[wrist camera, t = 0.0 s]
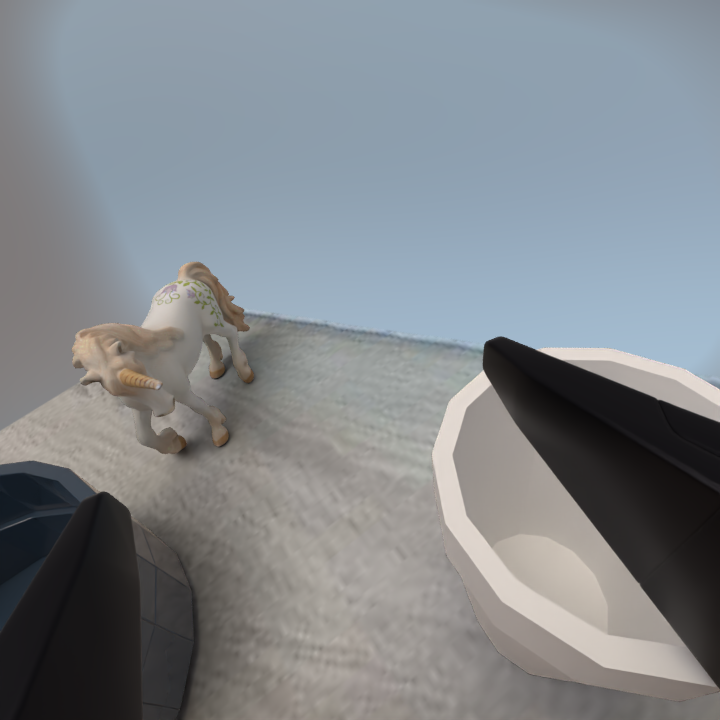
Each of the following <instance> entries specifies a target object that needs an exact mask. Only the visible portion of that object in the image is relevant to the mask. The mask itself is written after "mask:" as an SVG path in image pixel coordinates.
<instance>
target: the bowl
mask: <svg viewBox="0 0 720 720" xmlns="http://www.w3.org/2000/svg"><path fill="white" fill-rule="evenodd" d="M97 493H100V491H98V490H97V489H96V488H94V487H93V486H92V485H90V484H89V483H88V482H87V481H85V480H84V479H83V478H81V477H80V476H79V475H77V474H76V473H75V472H74V471H72V470H71V469H69V468H64V467H60V466H55V465H51V464H46V463H42V462H37V461H25V462H17V463H9V464H2V465H0V631H1V630H2V628H3V627H4V625H5V623H6V622H7V620H8V618H9V617H10V615H11V614H12V612H13V610H14V609H15V607H16V606H17V604H18V602H19V601H20V599H21V598H22V596H23V594H24V593H25V591H26V590H27V588H28V586H29V585H30V583H31V581H32V580H33V578H34V577H35V575H36V573H37V572H38V570H39V569H40V567H41V565H42V564H43V562H44V561H45V559H46V557H47V556H48V554H49V553H50V551H51V549H52V548H53V546H54V544H55V543H56V541H57V540H58V538H59V536H60V535H61V533H62V532H63V530H64V528H65V527H66V525H67V524H68V522H69V520H70V519H71V517H72V516H73V514H74V512H75V511H76V509H77V507H78V506H79V504H80V503H81V502H82V501H83V500H84V499H85V498H87V497H89V496H92V495H95V494H97ZM131 519H132V526H133V533H134V540H135V548H136V555H137V562H138V569H139V577H140V591H141V643H142V702H143V720H176V717H177V715H178V713H179V709H180V708H181V703H182V698H183V694H184V689H185V684H186V679H187V675H188V670H189V665H190V660H191V655H192V651H193V646H194V643H193V642H194V630H193V609H192V591H191V588H190V585H189V583H188V580H187V578H186V576H185V573H184V571H183V568H182V566H181V564H180V561H179V559H178V556H177V554H176V553H175V552H174V551H173V550H172V549H171V548H170V547H169V546H168V545H166V544H165V543H164V542H163V541H162V540H161V539H160V538H159V537H157V536H156V535H155V534H154V533H153V532H152V531H150V530H149V529H148V528H147V527H145V526H144V525H143V524H141V523H140V522H139V521H137V520H136V519H135V518H134V517H132V516H131Z"/></svg>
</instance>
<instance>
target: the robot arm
mask: <svg viewBox="0 0 720 720" xmlns="http://www.w3.org/2000/svg"><path fill="white" fill-rule="evenodd" d="M483 369H484V372H485V374H486V376H487V378H488V379H489V381H490V383H491V384H492V386H493V388H494V389H495V391H496V393H497V394H498V396H499V398H500V399H501V401H502V403H503V404H504V406H505V408H506V409H507V411H508V412H509V414H510V416H511V417H512V419H513V420H514V422H515V424H516V425H517V426H518V428H519V429H520V430H521V432H522V433H523V434H524V436H525V437H526V438H527V440H528V441H529V442H530V443H531V445H532V446H533V447H534V449H535V450H536V451H537V453H538V454H539V455H540V456H541V458H542V459H543V460H544V462H545V463H546V464H547V466H548V467H549V468H550V469H551V471H552V472H553V473H554V475H555V476H556V477H557V479H558V480H559V481H560V482H561V484H562V485H563V486H564V488H565V489H566V490H567V492H568V493H569V494H570V495H571V497H572V498H573V499H574V501H575V502H576V503H577V504H578V506H579V507H580V508H581V510H582V511H583V512H584V514H585V515H586V516H587V517H588V519H589V520H590V521H591V523H592V524H593V525H594V527H595V528H596V529H597V530H598V532H599V533H600V534H601V536H602V537H603V538H604V540H605V541H606V542H607V543H608V545H609V546H610V547H611V549H612V550H613V551H614V553H615V554H616V555H617V556H618V558H619V559H620V560H621V562H622V563H623V564H624V566H625V567H626V568H627V569H628V571H629V572H630V573H631V575H632V576H633V577H634V579H635V580H636V581H637V582H638V583H640V587H641V588H642V589H643V591H644V592H645V593H646V594H647V596H648V597H649V598H650V600H651V601H652V602H653V604H654V605H655V606H656V607H657V609H658V610H659V611H660V613H661V614H662V615H663V617H664V618H665V619H666V620H667V622H668V623H669V624H670V626H671V627H672V628H673V630H674V631H675V632H676V633H677V635H678V636H679V637H680V639H681V640H682V641H683V642H684V644H685V645H686V646H687V648H688V649H689V650H690V652H691V653H692V654H693V655H694V657H695V658H696V659H697V661H698V662H699V663H700V665H701V666H702V667H703V668H704V670H705V671H706V672H707V674H708V675H709V676H710V678H711V679H712V680H713V681H714V683H715V684H716V685H717V687H718V688H719V689H720V422H718V421H715V420H712V419H710V418H707V417H704V416H702V415H699V414H696V413H694V412H691V411H688V410H686V409H683V408H680V407H678V406H675V405H673V404H670V403H668V402H665V401H663V400H657V398H655V397H653V396H650V395H648V394H645V393H643V392H640V391H638V390H635V389H633V388H630V387H628V386H625V385H623V384H620V383H618V382H615V381H613V380H610V379H608V378H605V377H603V376H600V375H598V374H595V373H593V372H590V371H588V370H585V369H583V368H580V367H578V366H575V365H573V364H570V363H568V362H565V361H563V360H560V359H558V358H555V357H553V356H550V355H548V354H545V353H543V352H540V351H538V350H535V349H533V348H530V347H528V346H525V345H523V344H520V343H518V342H515V341H513V340H510V339H508V338H505V337H496V338H494V339H491V340H489V341H487V342H486V343H485V344H484V354H483ZM0 720H143V702H142V643H141V591H140V577H139V569H138V562H137V555H136V548H135V540H134V533H133V526H132V519H131V514H130V512H129V510H128V509H127V507H126V506H124V505H123V504H122V503H121V502H119V501H118V500H117V499H115V498H114V497H113V496H112V495H110V494H109V493H107V492H100V493H97V494H95V495H92V496H89V497H87V498H85V499H84V500H83V501H82V502H81V503H80V504H79V506H78V507H77V509H76V511H75V512H74V514H73V516H72V517H71V519H70V520H69V522H68V524H67V525H66V527H65V528H64V530H63V532H62V533H61V535H60V536H59V538H58V540H57V541H56V543H55V544H54V546H53V548H52V549H51V551H50V553H49V554H48V556H47V557H46V559H45V561H44V562H43V564H42V565H41V567H40V569H39V570H38V572H37V573H36V575H35V577H34V578H33V580H32V581H31V583H30V585H29V586H28V588H27V590H26V591H25V593H24V594H23V596H22V598H21V599H20V601H19V602H18V604H17V606H16V607H15V609H14V610H13V612H12V614H11V615H10V617H9V618H8V620H7V622H6V623H5V625H4V627H3V628H2V630H1V631H0Z"/></svg>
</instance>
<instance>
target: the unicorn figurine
mask: <svg viewBox="0 0 720 720" xmlns="http://www.w3.org/2000/svg"><path fill="white" fill-rule="evenodd" d="M228 295H229V293H228V291H227V290H226V289H225V288H224V287H223V286H222V285H221V284H220V283H219V282H218V279H217V278H216V277H215V276H214V275H212V274H211V272H210V270H209V269H208V268H207V267H206V266H205V265H203V264H202V263H200V262H190V263H187V264H185V265H183V266H182V267H181V268H180V270H179V272H178V279H177V281H175V282H172V283H170V284H168V285H166V286H164V287H163V288H161V289H160V290H159V291H158V292H157V293H156V294H155V296H154V297H153V299H152V306H151V309H150V311H149V314H148V315H147V318H146V319H145V321H144V323H143V324H142V326H141V327H138V326H134V325H124V324H118V323H107V324H101V325H97V326H94V327H91V328H88V329H83V330H81V331H79V332H78V333H77V334H76V336H75V337H76V342H75V343H74V346H73V347H72V352H73V354H74V357H73V359H72V361H73V366H74V367H75V368H83V367H84V368H85V369H86V371H88V372H87V374H86V375H85V377H83V378H81V379H80V382H81V384H82V385H88V384H90V383H93V382H100V383H101V385H102V386H103V388H105V389H106V390H107V391H109V393H110V394H112V395H114V396H118V397H119V399H120V400H121V402H122V403H123V404H124V405H126V406H127V407H129V408H132V412H133V416H134V421H135V429H136V436H137V439H138V441H139V442H140V443H141V444H142V445H144V446H147V447H150V448H153V449H156V450H158V451H159V452H160V453H163V454H168V453H170V454H175V453H177V452H179V451H180V450H182V449H183V448H184V447H185V446H186V444H187V443H186V440H185V439H184V438H183V437H182V436H180V435H177V433H176V432H175V430H173V429H172V428H171V427H169V428H166V429H164V430H162V431H161V432H160V433H158V435H156V433H155V432H154V430H153V429H152V428H151V415H152V411H153V414H154V416H156V417H161V416H165V415H167V414H170V413H171V412H173V410H174V409H175V401H177V402H180V403H182V404H184V405H187V406H189V407H190V408H191V409H192V410H194V411H195V412H197V413H199V414H201V415H203V416H204V417H205V418H207V420H208V422H209V423H210V425H211V426H212V439H213V443H214V445H215V446H222V445H223V444H225V442H226V441H227V440H228V438H229V433H228V431H227V429H226V428H225V427H223V426H221V424H223V423H224V422H225V421H226V417H225V416H224V415H222V414H221V412H220V410H219V409H217V408H215V407H214V406H208V405H207V404H206V402H205V401H204V400H203V399H202V398H200V397H198V396H196V395H195V394H194V393H193V392H192V391H191V390H190V381H189V379H188V375H189V374H190V373H191V371H192V370H193V368H194V367H195V365H196V363H197V361H198V358H199V355H200V352H201V348H202V342H204V343H205V344H206V346H207V348H208V350H209V354H210V358H211V362H210V365H209V370H210V376H211V377H212V378H218V377H220V376H221V375H222V374H223V373H224V371H225V366H224V364H223V363H222V362H221V361H220V360H222V359H223V355H222V350H221V347H220V346H219V344H218V343H217V342H216V341H213V340H212V339H211V335H210V334H216V335H219V336H222V337H226V338H227V340H228V342H229V346H230V350H231V353H232V361H233V365H234V367H235V369H236V370H237V373H238V376H239V378H241V379H242V380H243V381H244V382H246V383H250V382H251V381H252V380H253V378H254V373H253V371H252V370H251V369H250V367H249V365H248V364H247V363H248V360H247V358H246V355H245V353H244V352H243V351H242V350H241V349H240V347H239V342H238V331H243V332H244V331H248V330H249V329H250V327H249V326H248V325H246V324H244V322H243V319H244V317H245V316H244V314H242V313H243V312H244V309H243V308H241V307H238V306H236V305H234V304H233V303H231V301H232V300H233V299H234V296H228Z"/></svg>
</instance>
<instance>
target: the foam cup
mask: <svg viewBox="0 0 720 720" xmlns="http://www.w3.org/2000/svg"><path fill="white" fill-rule="evenodd" d="M538 351H540V352H543V353H545V354H548V355H550V356H553V357H555V358H558V359H560V360H563V361H565V362H568V363H570V364H573V365H575V366H578V367H580V368H583V369H585V370H588V371H590V372H593V373H595V374H598V375H600V376H603V377H605V378H608V379H610V380H613V381H615V382H618V383H620V384H623V385H625V386H628V387H630V388H633V389H635V390H638V391H640V392H643V393H645V394H648V395H650V396H653V397H655V398H657V400H663V401H665V402H668V403H670V404H673V405H675V406H678V407H680V408H683V409H686V410H688V411H691V412H694V413H696V414H699V415H702V416H704V417H707V418H710V419H712V420H715V421H718V422H720V389H718V388H716V387H714V386H713V385H711V384H709V383H708V382H706V381H704V380H702V379H701V378H699V377H697V376H695V375H694V374H692V373H690V372H688V371H687V370H685V369H683V368H679V367H675V366H672V365H668V364H665V363H661V362H658V361H654V360H650V359H646V358H643V357H639V356H636V355H633V354H628V353H625V352H622V351H618V350H615V349H611V348H542V349H539V350H538ZM432 466H433V482H434V493H435V498H436V503H437V509H438V514H439V519H440V525H441V530H442V535H443V541H444V546H445V552H446V556H447V557H448V559H449V560H450V562H451V563H452V564H453V566H454V567H455V569H456V570H457V572H458V573H459V575H460V576H461V578H462V581H463V583H464V586H465V589H466V591H467V594H468V597H469V599H470V602H471V605H472V607H473V610H474V613H475V616H476V618H477V620H478V622H479V624H480V625H481V627H482V628H483V630H484V631H485V633H486V634H487V636H488V638H489V639H490V641H491V642H492V644H493V645H494V647H495V648H496V650H497V651H498V652H499V653H500V654H501V655H503V656H504V657H506V658H507V659H508V660H510V661H511V662H513V663H514V664H515V665H517V666H518V667H520V668H521V669H522V670H524V671H525V672H527V673H528V674H531V675H537V676H542V677H547V678H553V679H558V680H563V681H571V682H578V683H581V684H586V685H592V686H597V687H602V688H608V689H613V690H618V691H624V692H629V693H635V694H640V695H645V696H651V697H656V698H661V699H667V700H672V701H677V702H681V701H685V700H689V699H692V698H696V697H700V696H704V695H708V694H711V693H715V692H719V691H720V689H719V688H718V687H717V685H716V684H715V683H714V681H713V680H712V679H711V678H710V676H709V675H708V674H707V672H706V671H705V670H704V668H703V667H702V666H701V665H700V663H699V662H698V661H697V659H696V658H695V657H694V655H693V654H692V653H691V652H690V650H689V649H688V648H687V646H686V645H685V644H684V642H683V641H682V640H681V639H680V637H679V636H678V635H677V633H676V632H675V631H674V630H673V628H672V627H671V626H670V624H669V623H668V622H667V620H666V619H665V618H664V617H663V615H662V614H661V613H660V611H659V610H658V609H657V607H656V606H655V605H654V604H653V602H652V601H651V600H650V598H649V597H648V596H647V594H646V593H645V592H644V591H643V589H642V588H641V587H640V583H638V582H637V581H636V580H635V579H634V577H633V576H632V575H631V573H630V572H629V571H628V569H627V568H626V567H625V566H624V564H623V563H622V562H621V560H620V559H619V558H618V556H617V555H616V554H615V553H614V551H613V550H612V549H611V547H610V546H609V545H608V543H607V542H606V541H605V540H604V538H603V537H602V536H601V534H600V533H599V532H598V530H597V529H596V528H595V527H594V525H593V524H592V523H591V521H590V520H589V519H588V517H587V516H586V515H585V514H584V512H583V511H582V510H581V508H580V507H579V506H578V504H577V503H576V502H575V501H574V499H573V498H572V497H571V495H570V494H569V493H568V492H567V490H566V489H565V488H564V486H563V485H562V484H561V482H560V481H559V480H558V479H557V477H556V476H555V475H554V473H553V472H552V471H551V469H550V468H549V467H548V466H547V464H546V463H545V462H544V460H543V459H542V458H541V456H540V455H539V454H538V453H537V451H536V450H535V449H534V447H533V446H532V445H531V443H530V442H529V441H528V440H527V438H526V437H525V436H524V434H523V433H522V432H521V430H520V429H519V428H518V426H517V425H516V424H515V422H514V420H513V419H512V417H511V416H510V414H509V412H508V411H507V409H506V408H505V406H504V404H503V403H502V401H501V399H500V398H499V396H498V394H497V393H496V391H495V389H494V388H493V386H492V384H491V383H490V381H489V379H488V378H487V376H486V374H485V372H484V370H483V371H482V372H481V373H480V374H479V375H478V376H477V377H475V378H474V379H473V380H472V381H471V382H470V383H469V384H468V385H467V386H465V387H464V388H463V389H462V390H461V391H460V392H459V393H458V394H456V395H455V396H454V397H453V398H452V399H451V400H450V401H449V404H448V407H447V410H446V413H445V416H444V419H443V422H442V425H441V428H440V431H439V434H438V437H437V439H436V442H435V445H434V448H433V451H432Z"/></svg>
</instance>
